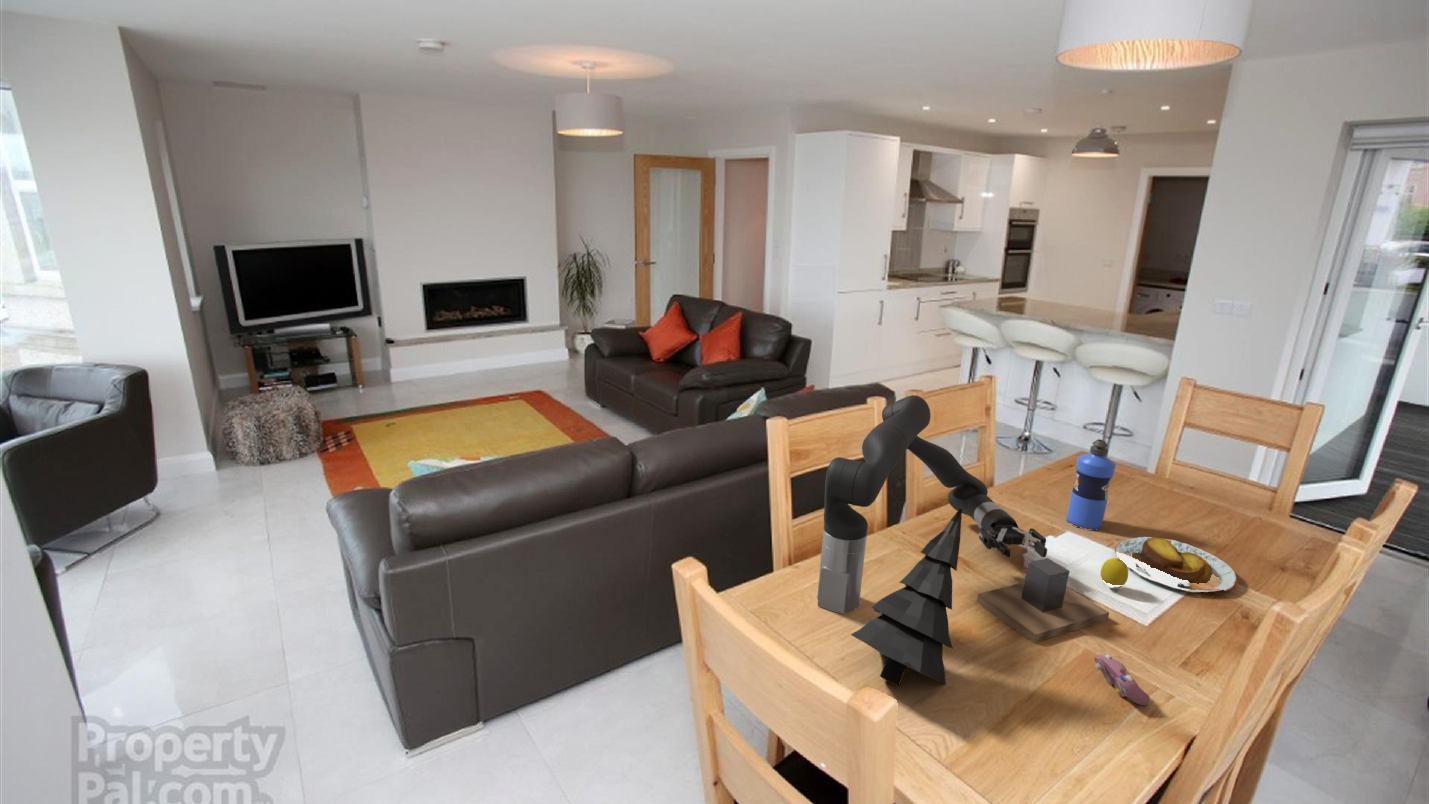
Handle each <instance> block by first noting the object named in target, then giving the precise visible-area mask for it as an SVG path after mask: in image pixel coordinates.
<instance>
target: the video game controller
mask: <svg viewBox="0 0 1429 804" xmlns="http://www.w3.org/2000/svg"><path fill="white" fill-rule="evenodd" d="M1093 659H1094V662H1095V664H1094V666H1095V669H1096V670H1098V671H1101V674H1102V675H1103V676H1104V679H1105V680H1106V682H1107V683H1108V684H1109V685H1110V686H1113V685H1114V688H1115V692H1116V694H1118V695H1119V696H1120V697H1122V698H1124V697H1126V698H1128V699H1129V700H1131V701H1132V702H1133V703H1135V704H1137V705H1138V706H1147V705H1148V704H1149V703H1150V702H1151V699H1150V696H1149V695H1148V694H1147V692H1145V691H1144V690H1143V689H1142V688H1141V687H1140V686H1139V685H1138V683H1137V681H1136V680H1135V679H1134V678H1133V677H1132V676H1131V674H1130V673H1129V671H1128V670H1127V668H1126V667H1125V665H1124V664H1123V663H1122V662H1120V661H1119V660H1117V659H1115V658H1113V657H1112V656H1111V655H1110V654H1109V653H1106V654H1100V655H1096V656H1095V657H1094V658H1093Z"/></svg>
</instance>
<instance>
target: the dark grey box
mask: <svg viewBox="0 0 1429 804" xmlns="http://www.w3.org/2000/svg"><path fill="white" fill-rule="evenodd" d="M1070 572H1071V571H1070V570H1069V569H1068V568H1065V567H1064V566H1062V565H1061V564H1059V563H1058V562H1055V561H1054V560H1052V559H1050V558H1049V557H1047V558H1046V557H1044V558H1041V559H1037V560H1032V561H1028V562H1027V566H1026V571H1025V578H1024V581H1023V582H1024V587H1023V592H1022V599H1023V600H1025V601H1026V602H1028V603H1029V604H1031V605H1032V606H1033V607H1035V608H1036V609H1038V610H1039V611H1041V612H1046V611H1050V610H1054V609H1058V608H1062V605H1063V600H1064V596H1065V591H1066V587H1068V580H1069V577H1070Z"/></svg>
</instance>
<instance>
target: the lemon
mask: <svg viewBox="0 0 1429 804" xmlns="http://www.w3.org/2000/svg"><path fill="white" fill-rule="evenodd" d="M1100 578H1102V579H1101V581H1102V580H1104V581H1105V582H1106V583H1110V584H1112V585H1123V586H1124V585H1125V584H1126V583H1127V582H1128V581H1127V580H1128V578H1129V568H1128V567H1127V565H1126V564H1125V563H1124V562H1123V561H1122V560H1120V559H1119V557H1113V558H1109V559H1107V560H1106V561H1104V562H1103V564H1102V566H1101V570H1100Z"/></svg>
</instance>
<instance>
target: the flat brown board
mask: <svg viewBox="0 0 1429 804" xmlns="http://www.w3.org/2000/svg"><path fill="white" fill-rule="evenodd" d="M1024 582H1025V581H1023V582H1018V583H1015V584H1011V585H1006V586H1003V587H999V588H995V589H991V590H988V591H983V592H979V593H977V596H976V600H975V601H976V603H978V604H979V605H980V606H982V607H983V608H985V609H986V610H987V611H989V612H990V613H992V614H993V615H994V616H996V617H997V618H998V619H1000V620H1001V621H1003V623H1006V624H1007V625H1008V626H1010V627H1011V628H1013V629H1014V630H1015V631H1017V632H1018V633H1020V634H1021V635H1022V636H1024V637H1025V638H1027V639H1028V640H1029V641H1031V642H1032V643H1033V644H1035V643H1039V642H1042V641H1045V640H1048V639H1051V638H1052V639H1053V638H1055V637H1059V636H1062V635H1065V634H1067V633H1071V632H1075V631H1077V630H1081V629H1083V628H1087V627H1091V626H1094V625H1097V624H1101V623H1103V622H1107V621H1108V620H1109V615H1110V612H1109V611H1108V610H1106V609H1104V608H1103V607H1101V606H1099V605H1098V604H1096V603H1095V602H1093V601H1092V600H1090V599H1088V598H1086V597H1084V596H1082V595H1081V594H1079V593H1078V592H1076V591H1074V590H1073V589H1071V588H1069V587H1068V586H1066V591H1065V596H1064V600H1063V605H1062V608H1058V609H1054V610H1050V611H1046V612H1041V611H1039V610H1038V609H1036V608H1035V607H1033V606H1032V605H1031V604H1029V603H1028V602H1026V601H1025V600H1023V599H1022V592H1023V587H1024Z"/></svg>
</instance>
